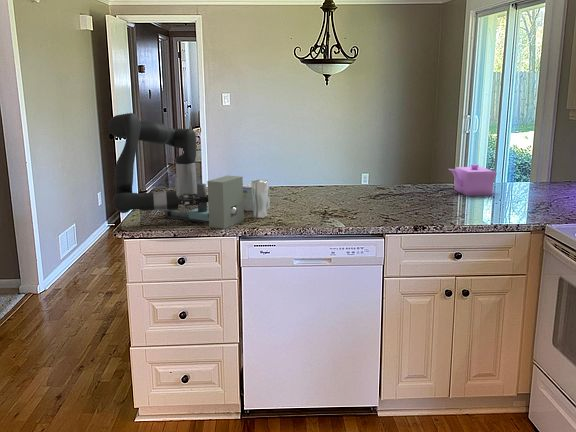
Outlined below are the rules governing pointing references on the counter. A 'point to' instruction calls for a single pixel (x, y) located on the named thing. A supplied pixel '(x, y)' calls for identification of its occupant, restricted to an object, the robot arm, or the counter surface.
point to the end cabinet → (225, 201)
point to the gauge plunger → (233, 210)
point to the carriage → (200, 206)
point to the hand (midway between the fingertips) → (209, 198)
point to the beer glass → (259, 198)
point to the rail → (180, 215)
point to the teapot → (473, 180)
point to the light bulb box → (248, 198)
